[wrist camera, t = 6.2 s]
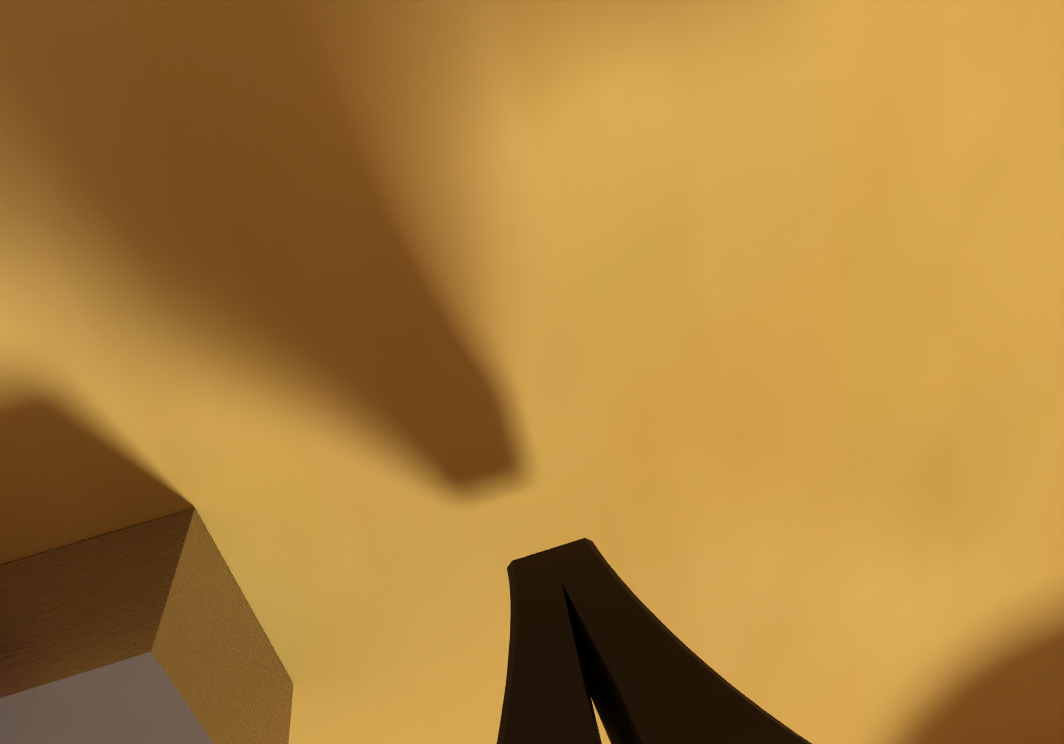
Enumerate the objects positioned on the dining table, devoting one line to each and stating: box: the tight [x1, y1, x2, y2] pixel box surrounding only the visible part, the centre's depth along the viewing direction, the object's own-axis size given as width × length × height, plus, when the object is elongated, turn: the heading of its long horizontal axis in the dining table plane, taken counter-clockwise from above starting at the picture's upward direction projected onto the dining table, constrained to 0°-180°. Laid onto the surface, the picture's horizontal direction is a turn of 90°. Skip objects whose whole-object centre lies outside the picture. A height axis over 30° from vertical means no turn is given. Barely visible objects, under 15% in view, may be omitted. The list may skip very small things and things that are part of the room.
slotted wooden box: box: [0, 509, 293, 744], centre depth 12 cm, size 7×4×3 cm, turn 102°
